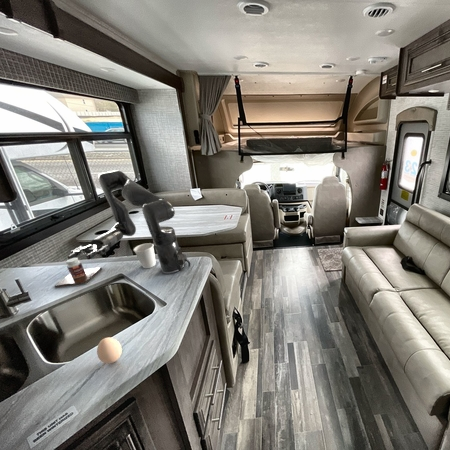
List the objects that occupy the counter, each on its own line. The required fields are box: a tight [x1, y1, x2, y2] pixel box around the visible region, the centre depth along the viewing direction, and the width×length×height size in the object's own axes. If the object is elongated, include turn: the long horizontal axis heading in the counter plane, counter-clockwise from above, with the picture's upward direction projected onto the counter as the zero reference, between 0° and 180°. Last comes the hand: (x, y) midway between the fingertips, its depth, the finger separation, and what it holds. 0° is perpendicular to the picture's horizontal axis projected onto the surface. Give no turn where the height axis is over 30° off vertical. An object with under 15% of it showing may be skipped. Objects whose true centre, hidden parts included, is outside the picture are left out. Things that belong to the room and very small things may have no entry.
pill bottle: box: [65, 257, 85, 278], centre depth 108 cm, size 5×5×8 cm
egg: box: [96, 337, 123, 364], centre depth 68 cm, size 5×5×8 cm
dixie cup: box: [133, 242, 157, 269], centre depth 117 cm, size 8×8×10 cm
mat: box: [53, 267, 103, 288], centre depth 110 cm, size 12×12×1 cm
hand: (78, 258), depth 110 cm, fingers open, 8 cm apart
